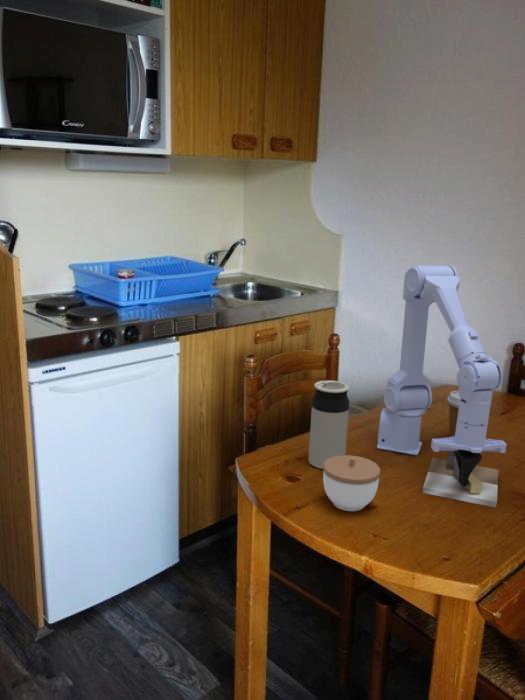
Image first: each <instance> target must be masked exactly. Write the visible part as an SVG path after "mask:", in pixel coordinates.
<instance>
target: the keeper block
mask: <svg viewBox="0 0 525 700" xmlns="http://www.w3.org/2000/svg"><path fill="white" fill-rule="evenodd" d="M446 460H447V465H446V469H450V470H454V464H455V462H457V460H456V457H455V454H454V451H448V455H447V459H446Z"/></svg>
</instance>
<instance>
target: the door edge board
mask: <svg viewBox="0 0 525 700" xmlns="http://www.w3.org/2000/svg"><path fill="white" fill-rule="evenodd" d="M446 465H447V459H441V458H435V457H432V458H431V462H430V465H429V467H428V471H427V474H426V477H425V481H424V484H423V486H422V494H427V495H432V496H435V497H436V496H437V497H441V498H446V499H451V500H457V501H462V502H465V503H466V502H467V503H470V504H475V505H480V506H487V507H491V508H497V504H498V489H499V488H498V487H499V486H498V485H499V473H500V471H499V469H496V468H490V467H485V466H479V465H476V467H475V468H474V469H473V471H472V472H471V473H472V474H473V475H474V476H475V477H476V478H477V479H478V480H479V481H480V482H481V483H482V489H481V493H470V492H469V491H468V490H467V489H466V488H465V487H464V486H462V485H461V484H460V483H459V482H458V478H456V477H454V476H453V472H454V470H450V469H446Z"/></svg>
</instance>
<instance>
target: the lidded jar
mask: <svg viewBox="0 0 525 700" xmlns="http://www.w3.org/2000/svg"><path fill="white" fill-rule="evenodd" d="M322 470H323V473H322V481H323V487H324V492H325V494H326V496H327V497H328V499H329V500H330V501H331V503H332V504H333V505H334V506H335V507H336V508H337V509H338V510H342V511H346V512H358V511H361V510H363V509H364V508H365V507H366V506H368V505H369V504H370V503H371V502H372V501H373V499H374V498H375V495H376V494H377V491H378V487H379V483H380V476H381V468H380V467H379V465H378V464H377V463H376V462H374V461H373V460H371V459H369V458H365V457H363V456H357V455H351V454H349V455H347V454H345V455H340V456H334V457H331V458H329V459H327V460H326V461H325V462H324V465H323V469H322Z"/></svg>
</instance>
